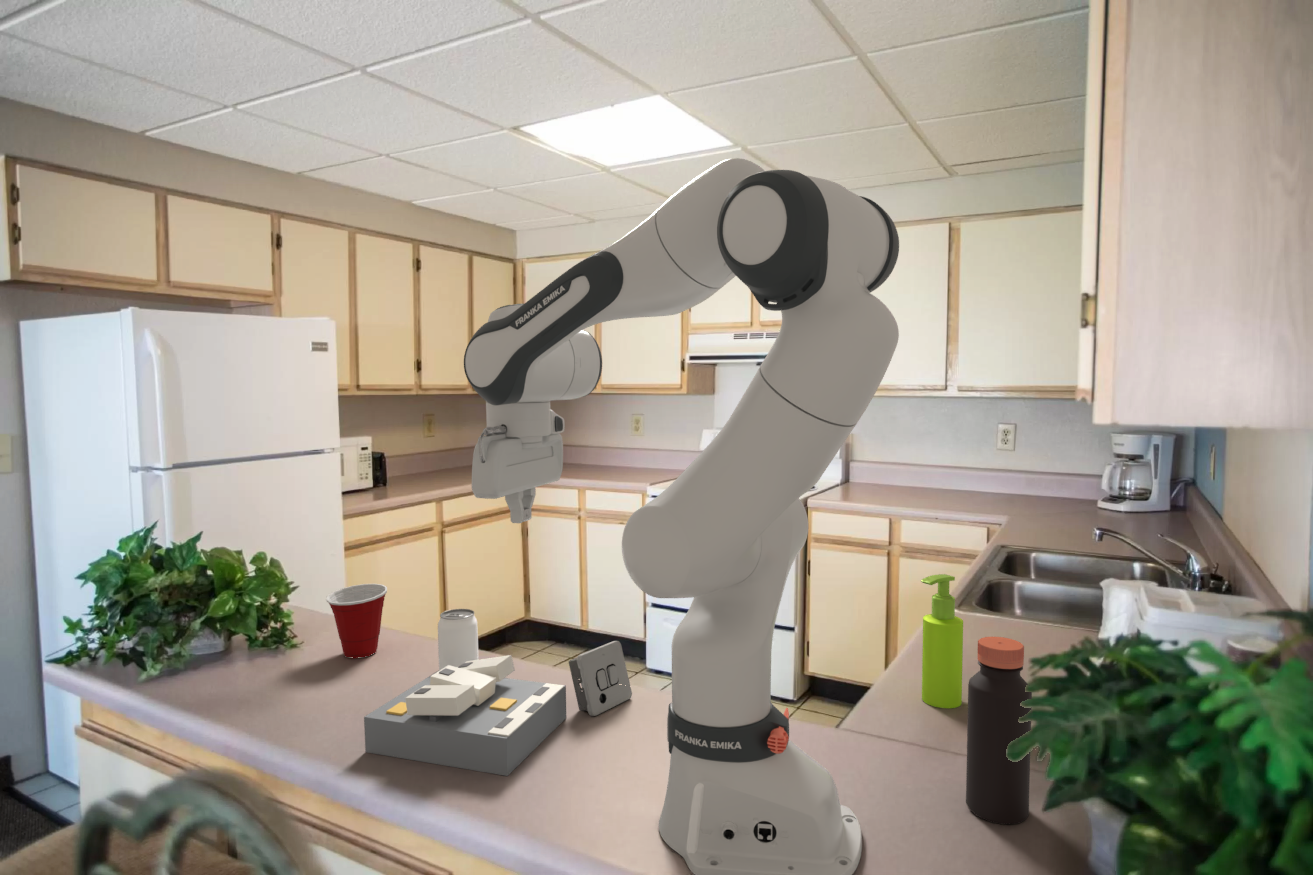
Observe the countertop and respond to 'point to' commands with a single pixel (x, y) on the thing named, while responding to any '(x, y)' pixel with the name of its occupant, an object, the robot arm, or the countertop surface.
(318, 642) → the countertop surface
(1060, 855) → the countertop surface
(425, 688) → the rocker
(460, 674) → the rocker
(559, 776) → the countertop surface
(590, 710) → the electrical switch
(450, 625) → the can
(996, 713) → the bottle
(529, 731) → the switch unit
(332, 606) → the plastic cup
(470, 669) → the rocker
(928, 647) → the soap dispenser
